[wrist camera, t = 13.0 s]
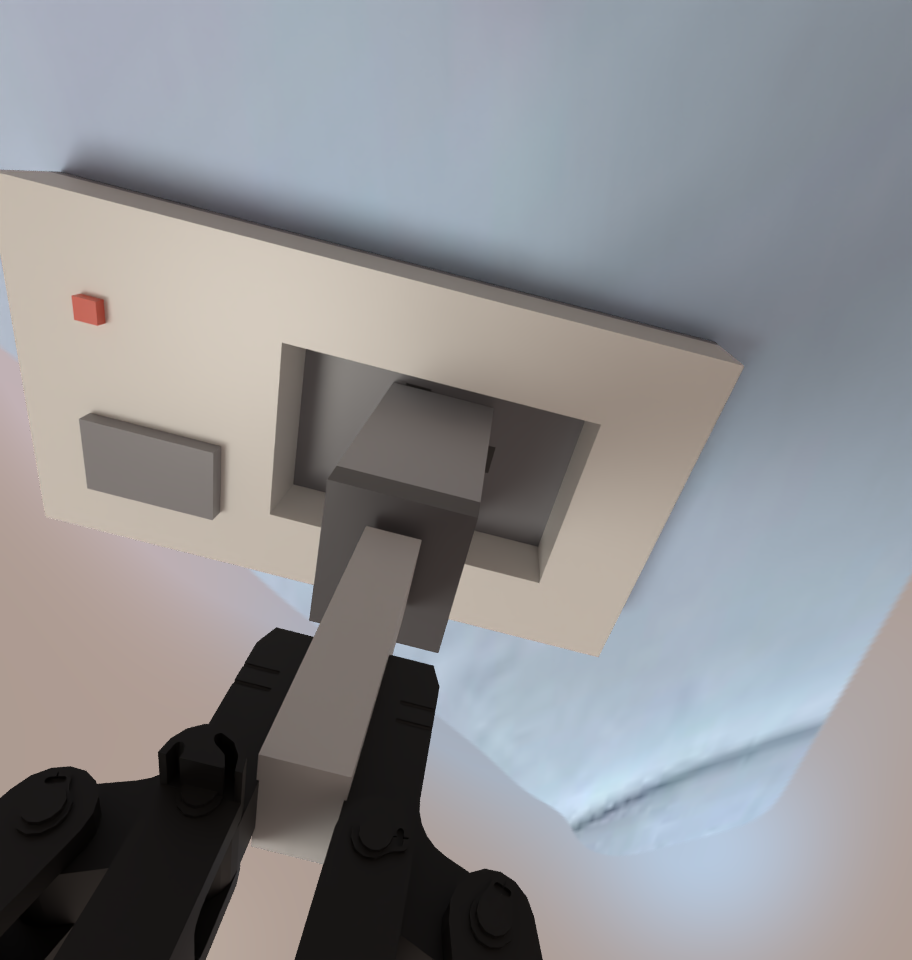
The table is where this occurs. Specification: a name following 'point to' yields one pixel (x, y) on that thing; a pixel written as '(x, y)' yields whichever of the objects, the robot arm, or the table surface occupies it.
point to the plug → (409, 500)
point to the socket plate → (337, 397)
